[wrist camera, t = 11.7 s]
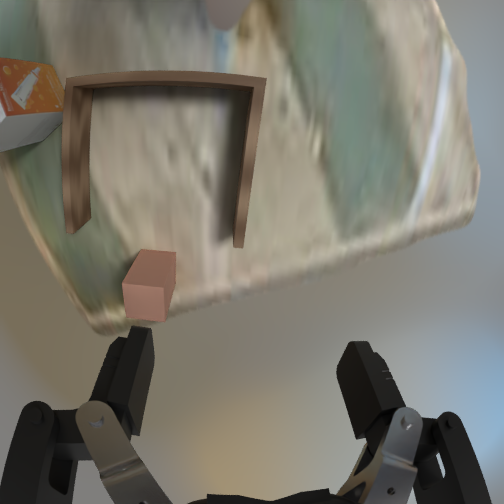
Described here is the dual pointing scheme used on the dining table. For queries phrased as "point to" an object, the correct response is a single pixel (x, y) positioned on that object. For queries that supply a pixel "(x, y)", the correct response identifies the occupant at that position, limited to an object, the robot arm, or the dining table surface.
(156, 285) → the terracotta block
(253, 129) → the u-shaped bracket
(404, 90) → the dining table surface
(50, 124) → the small box
